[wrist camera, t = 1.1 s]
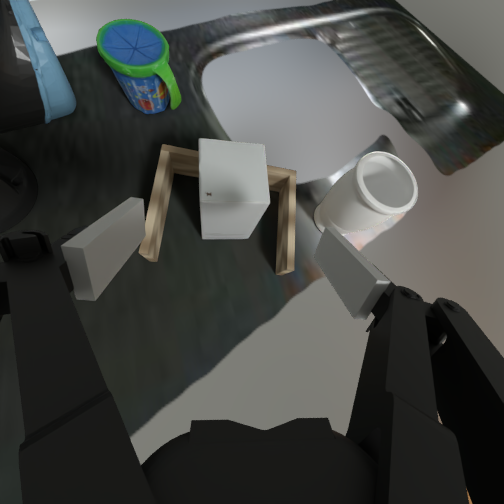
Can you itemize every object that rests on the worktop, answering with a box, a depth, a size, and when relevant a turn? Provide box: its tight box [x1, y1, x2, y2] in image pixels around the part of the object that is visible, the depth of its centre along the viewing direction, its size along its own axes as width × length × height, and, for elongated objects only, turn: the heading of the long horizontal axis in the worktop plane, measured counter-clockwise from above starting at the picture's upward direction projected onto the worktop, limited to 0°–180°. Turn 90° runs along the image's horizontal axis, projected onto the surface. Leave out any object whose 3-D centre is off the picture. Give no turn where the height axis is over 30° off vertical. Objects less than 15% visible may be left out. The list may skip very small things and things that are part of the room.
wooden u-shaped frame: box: [139, 144, 296, 275], centre depth 37 cm, size 19×24×6 cm
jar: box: [314, 152, 418, 236], centre depth 38 cm, size 11×10×15 cm
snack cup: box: [96, 19, 181, 114], centre depth 38 cm, size 16×10×10 cm
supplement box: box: [199, 138, 270, 239], centre depth 33 cm, size 9×9×15 cm
